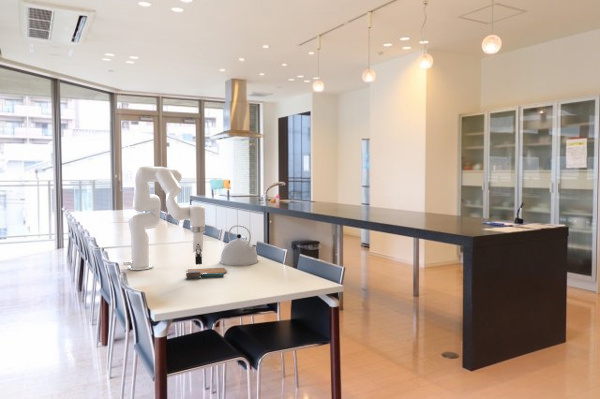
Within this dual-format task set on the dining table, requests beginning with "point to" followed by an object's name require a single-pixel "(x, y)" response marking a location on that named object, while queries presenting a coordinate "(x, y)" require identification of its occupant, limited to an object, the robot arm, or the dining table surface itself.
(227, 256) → the kettle
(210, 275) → the brush
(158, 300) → the dining table surface
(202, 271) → the cork mat
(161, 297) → the dining table surface
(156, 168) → the robot arm
